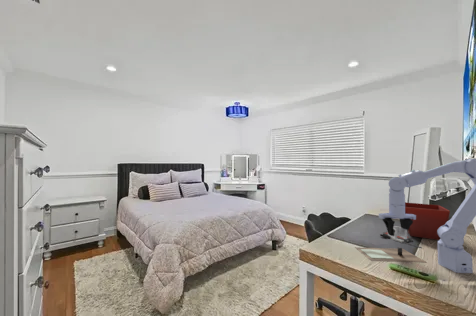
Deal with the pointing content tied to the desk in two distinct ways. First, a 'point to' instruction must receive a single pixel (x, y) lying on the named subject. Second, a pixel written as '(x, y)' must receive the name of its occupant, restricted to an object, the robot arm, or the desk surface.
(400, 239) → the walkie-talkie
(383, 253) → the stand
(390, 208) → the robot arm
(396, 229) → the c link
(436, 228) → the plant pot
